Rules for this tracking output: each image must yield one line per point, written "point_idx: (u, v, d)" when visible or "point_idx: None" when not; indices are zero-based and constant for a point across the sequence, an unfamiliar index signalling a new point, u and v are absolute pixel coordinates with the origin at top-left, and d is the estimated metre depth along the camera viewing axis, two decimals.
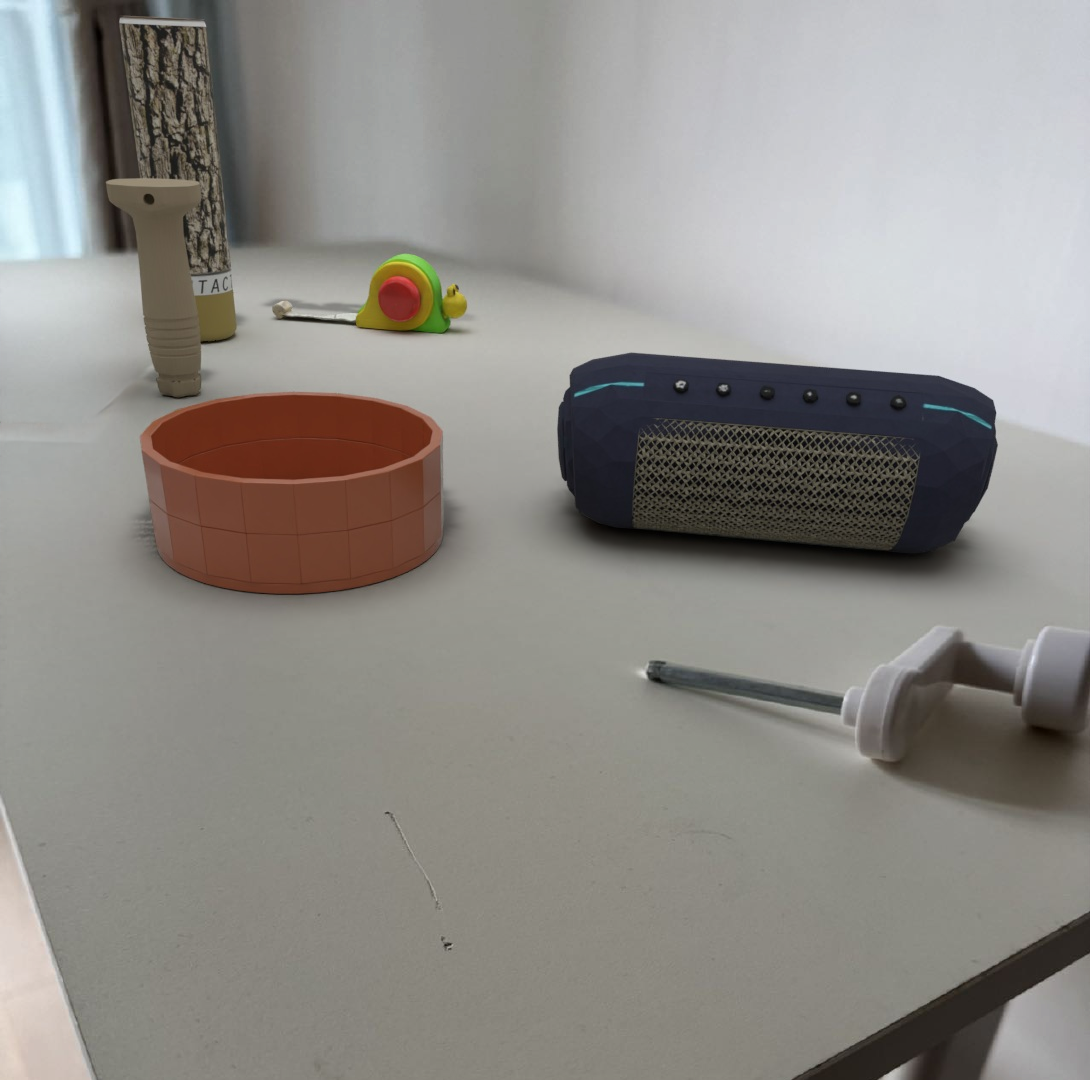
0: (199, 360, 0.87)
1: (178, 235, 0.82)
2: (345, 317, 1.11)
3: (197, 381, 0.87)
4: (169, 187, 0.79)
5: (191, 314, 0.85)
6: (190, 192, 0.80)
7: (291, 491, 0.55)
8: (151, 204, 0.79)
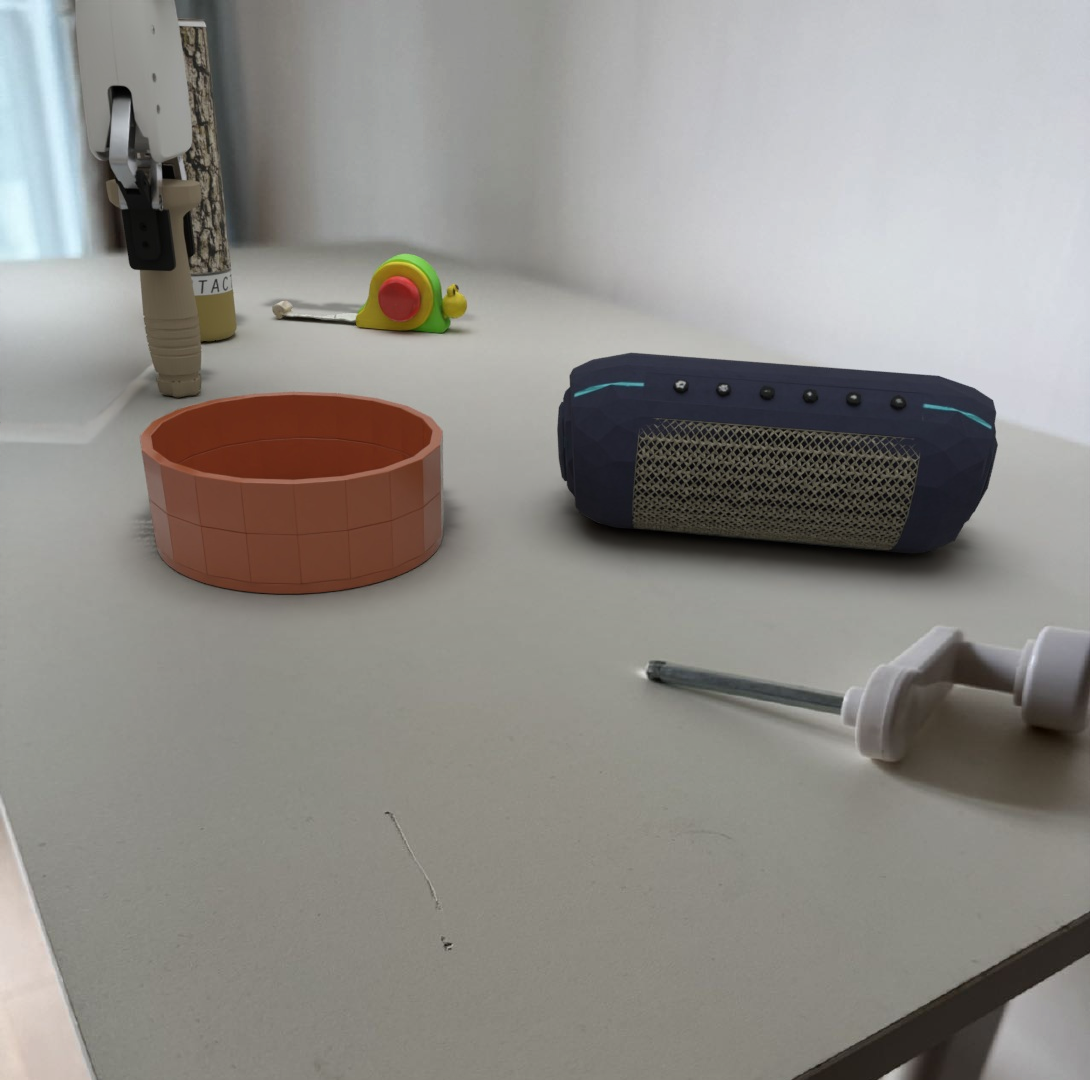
0: (199, 360, 0.87)
1: (178, 235, 0.82)
2: (345, 317, 1.11)
3: (197, 381, 0.87)
4: (169, 187, 0.79)
5: (191, 314, 0.85)
6: (190, 192, 0.80)
7: (291, 491, 0.55)
8: None
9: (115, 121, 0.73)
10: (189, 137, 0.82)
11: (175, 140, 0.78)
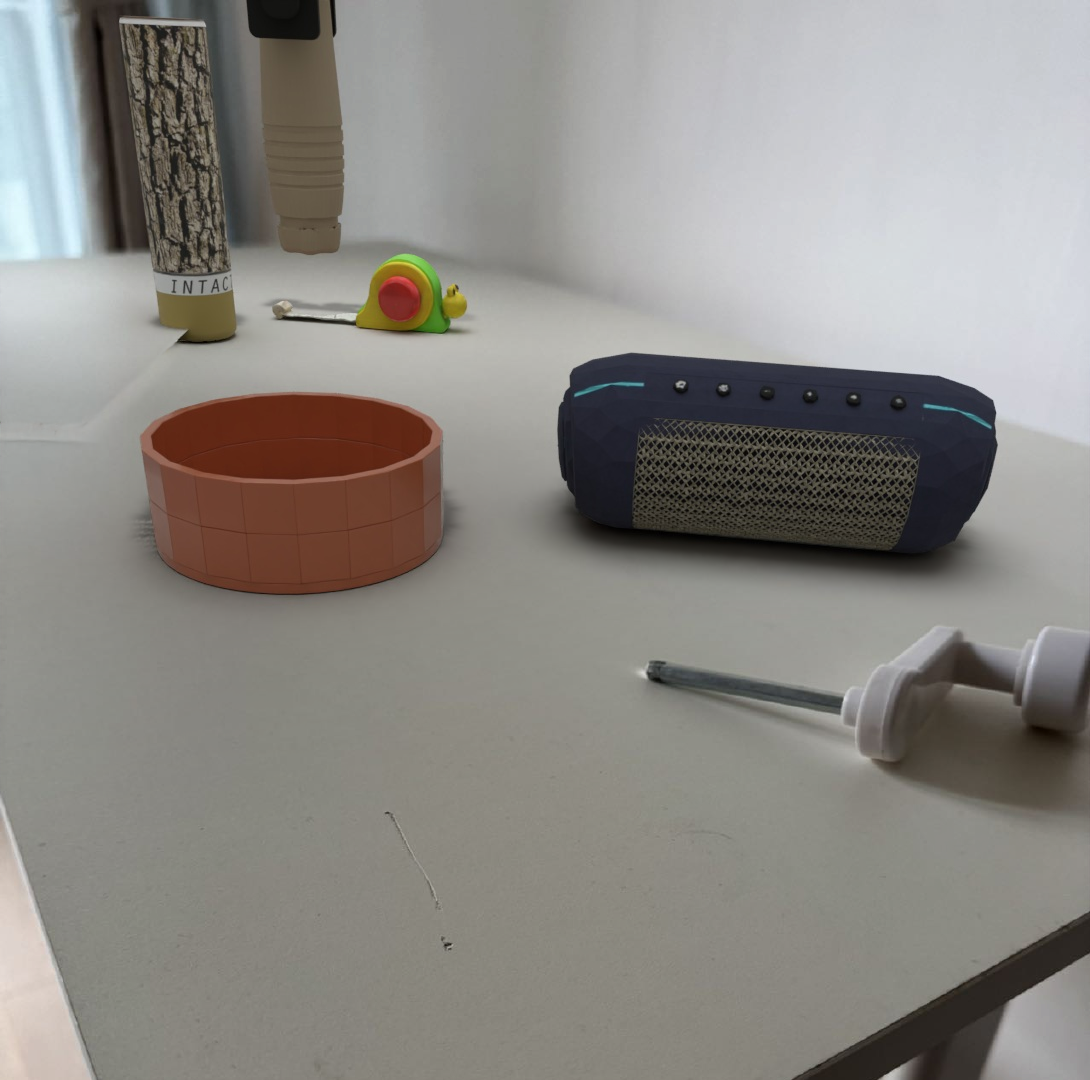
0: (342, 198, 0.58)
1: None
2: (345, 317, 1.11)
3: (338, 231, 0.58)
4: None
5: (335, 122, 0.56)
6: None
7: (291, 491, 0.55)
8: None
9: None
10: None
11: None
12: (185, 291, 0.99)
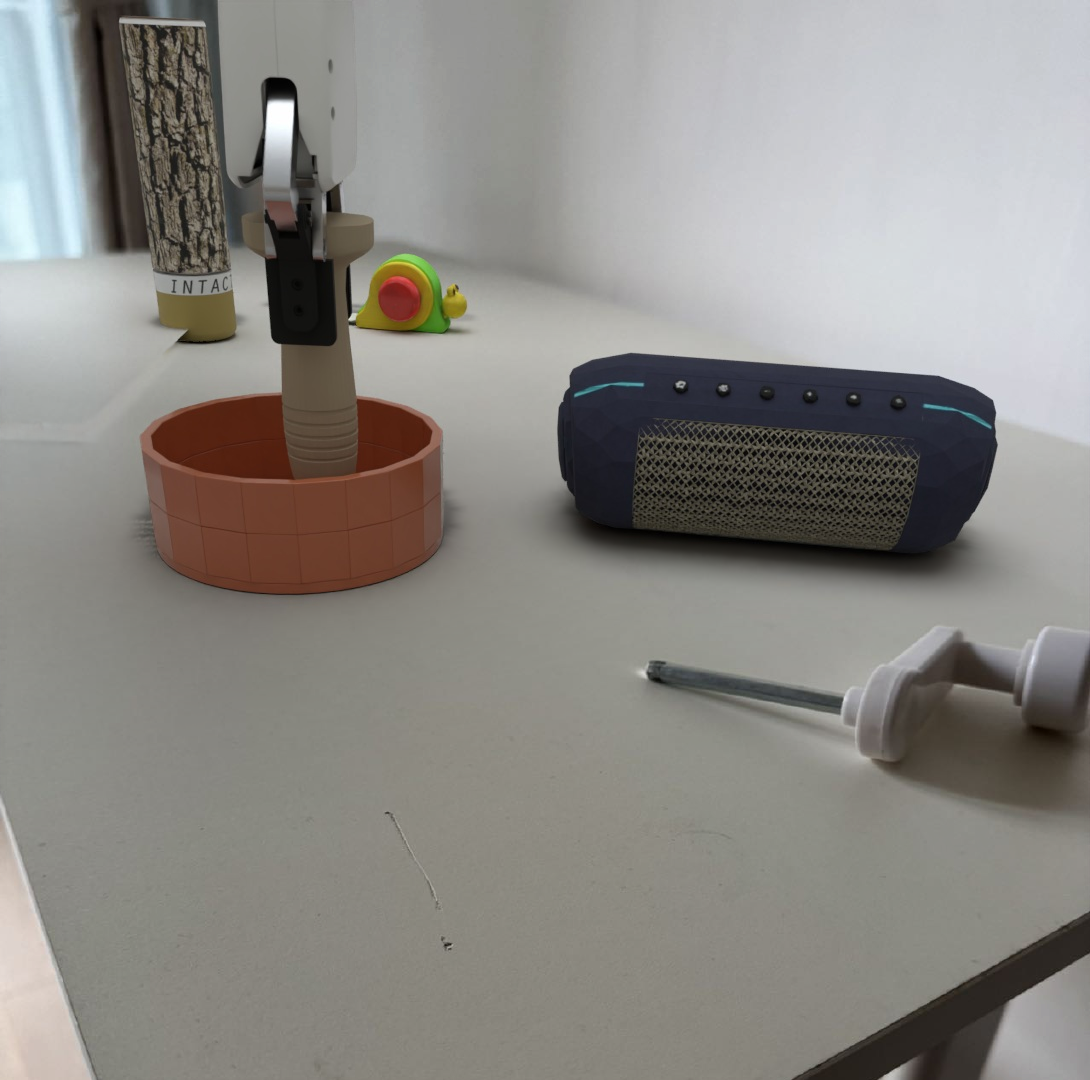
0: (355, 463, 0.62)
1: (340, 294, 0.57)
2: None
3: None
4: (336, 227, 0.54)
5: (350, 403, 0.60)
6: (363, 234, 0.55)
7: (291, 491, 0.55)
8: None
9: (271, 131, 0.49)
10: (355, 153, 0.57)
11: (345, 158, 0.54)
12: (185, 291, 0.99)
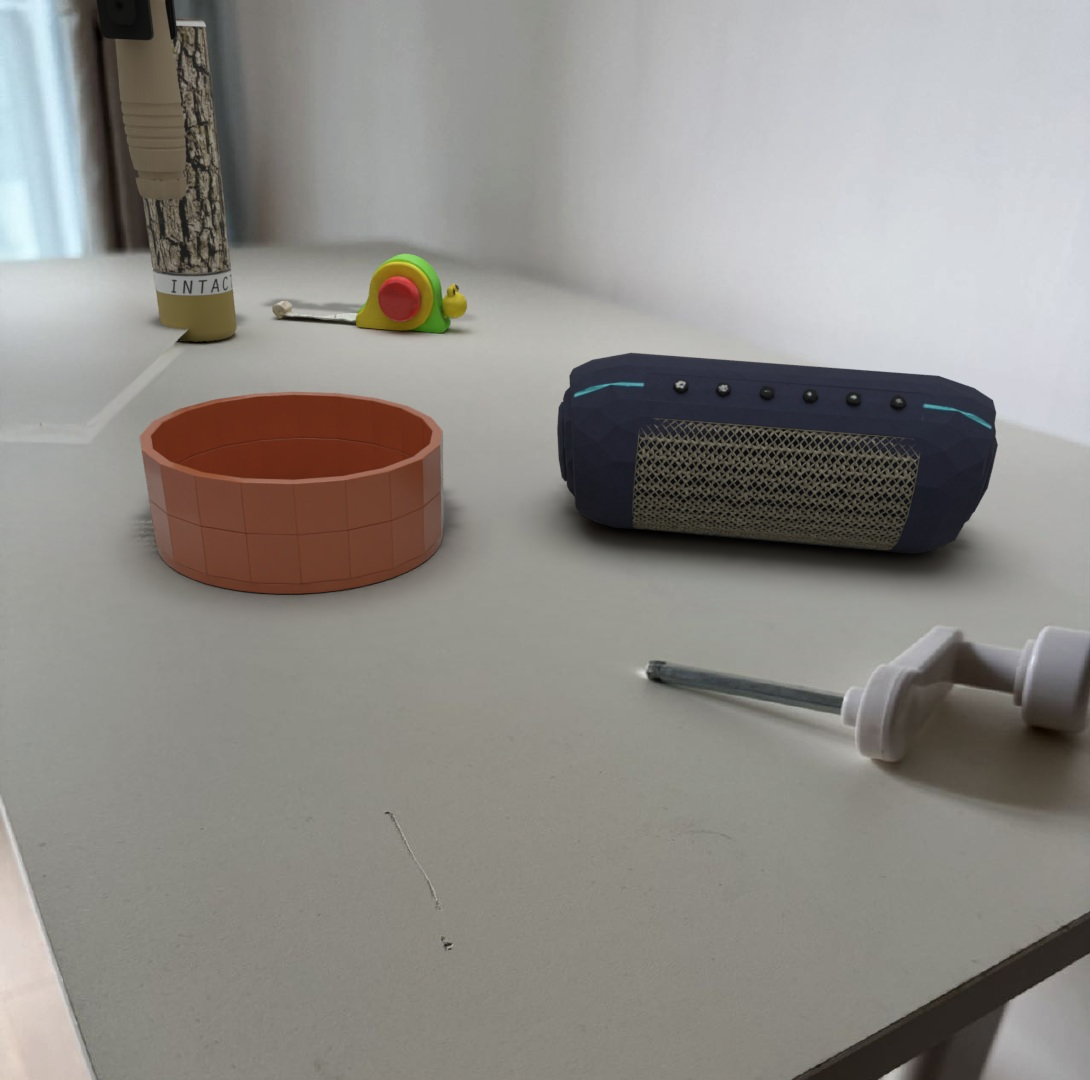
0: (183, 157, 0.78)
1: (158, 3, 0.73)
2: (345, 317, 1.11)
3: (181, 182, 0.79)
4: None
5: (174, 100, 0.76)
6: None
7: (291, 491, 0.55)
8: None
9: None
10: None
11: None
12: (185, 291, 0.99)
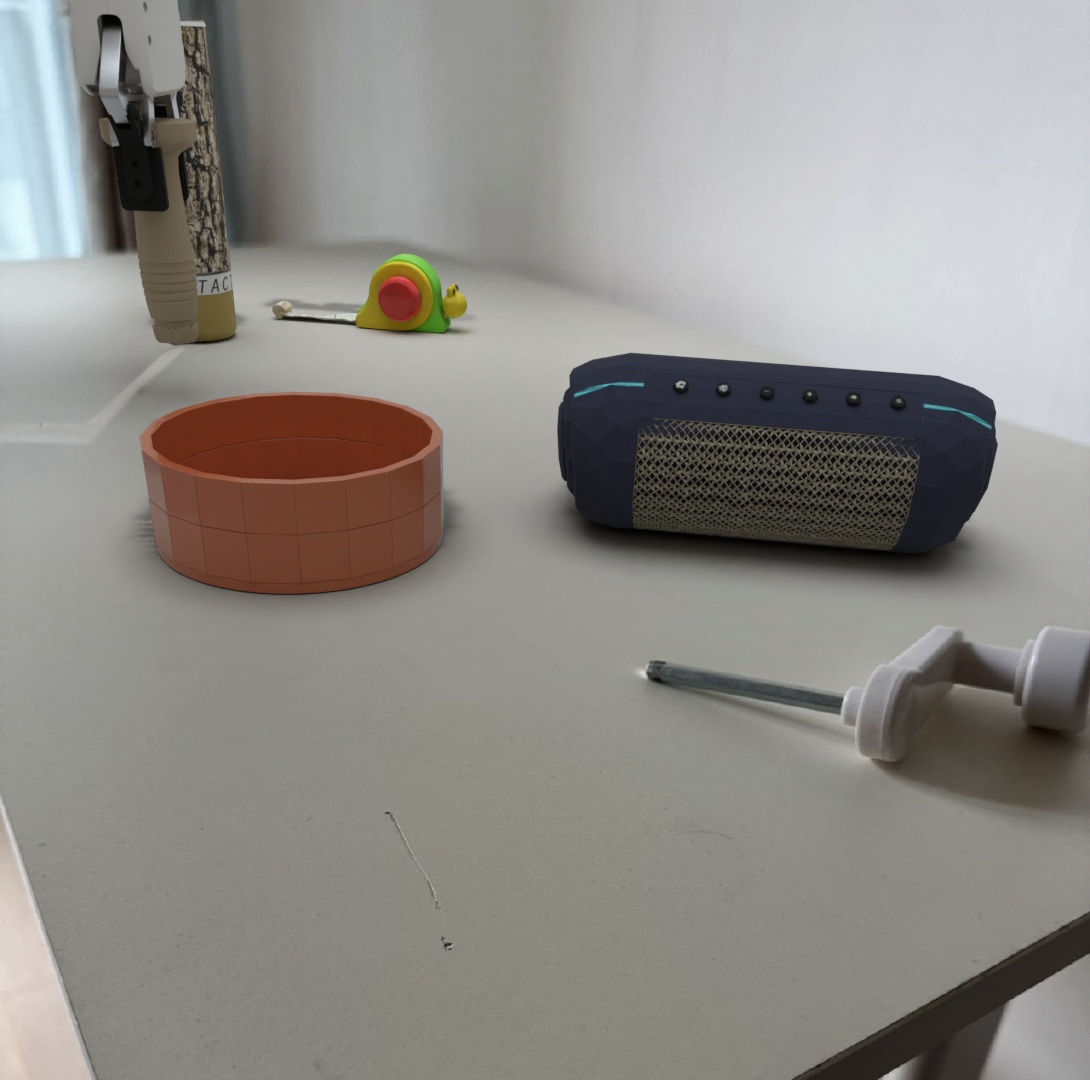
0: (196, 306, 0.85)
1: (173, 175, 0.80)
2: (345, 317, 1.11)
3: (194, 328, 0.85)
4: (163, 124, 0.77)
5: (187, 258, 0.83)
6: (185, 130, 0.78)
7: (291, 491, 0.55)
8: None
9: (105, 51, 0.71)
10: (182, 75, 0.80)
11: (167, 75, 0.76)
12: None
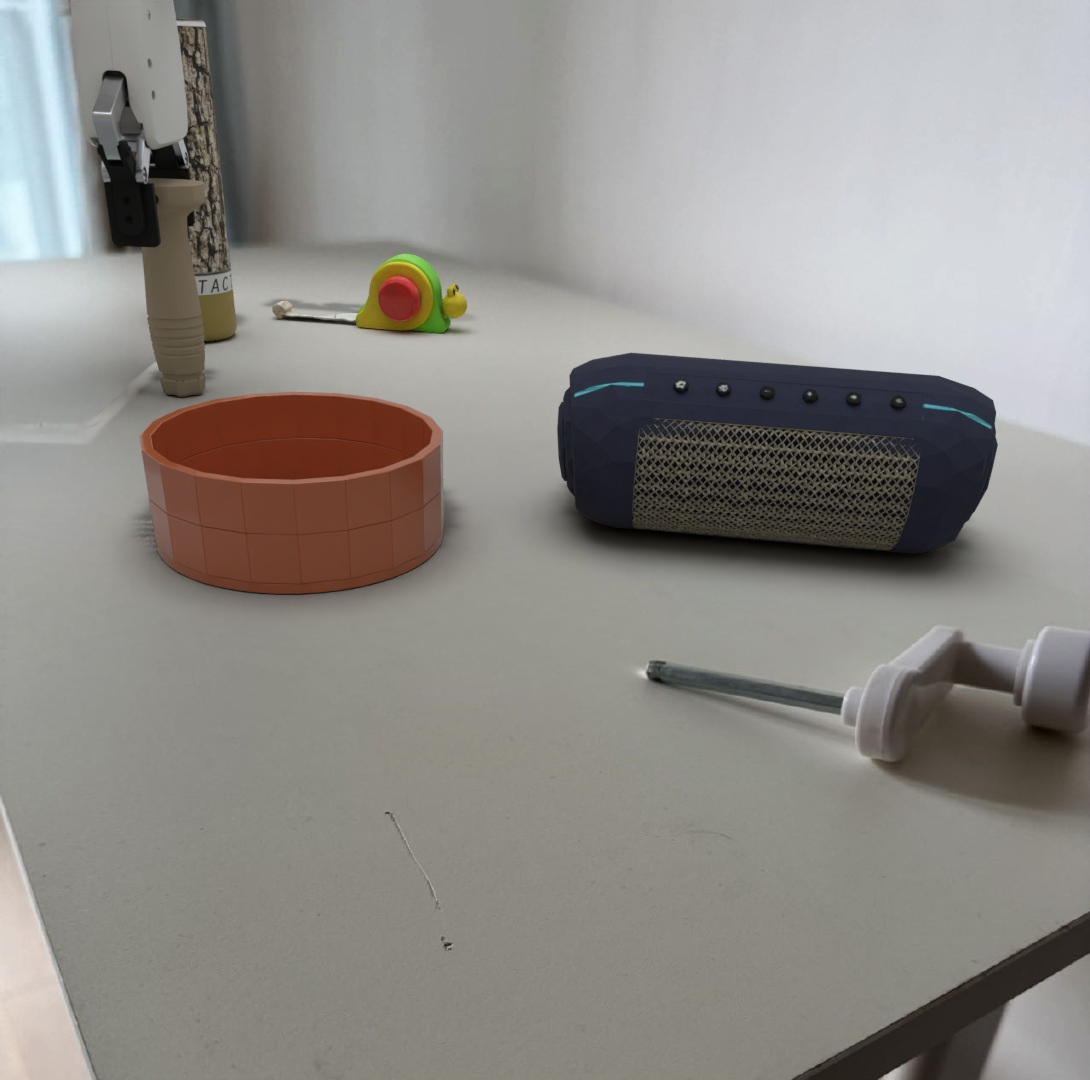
0: (203, 360, 0.87)
1: (182, 235, 0.82)
2: (345, 317, 1.11)
3: (201, 380, 0.88)
4: (173, 187, 0.79)
5: (195, 314, 0.85)
6: (194, 192, 0.80)
7: (291, 491, 0.55)
8: None
9: (104, 88, 0.72)
10: (185, 125, 0.81)
11: (170, 127, 0.78)
12: None
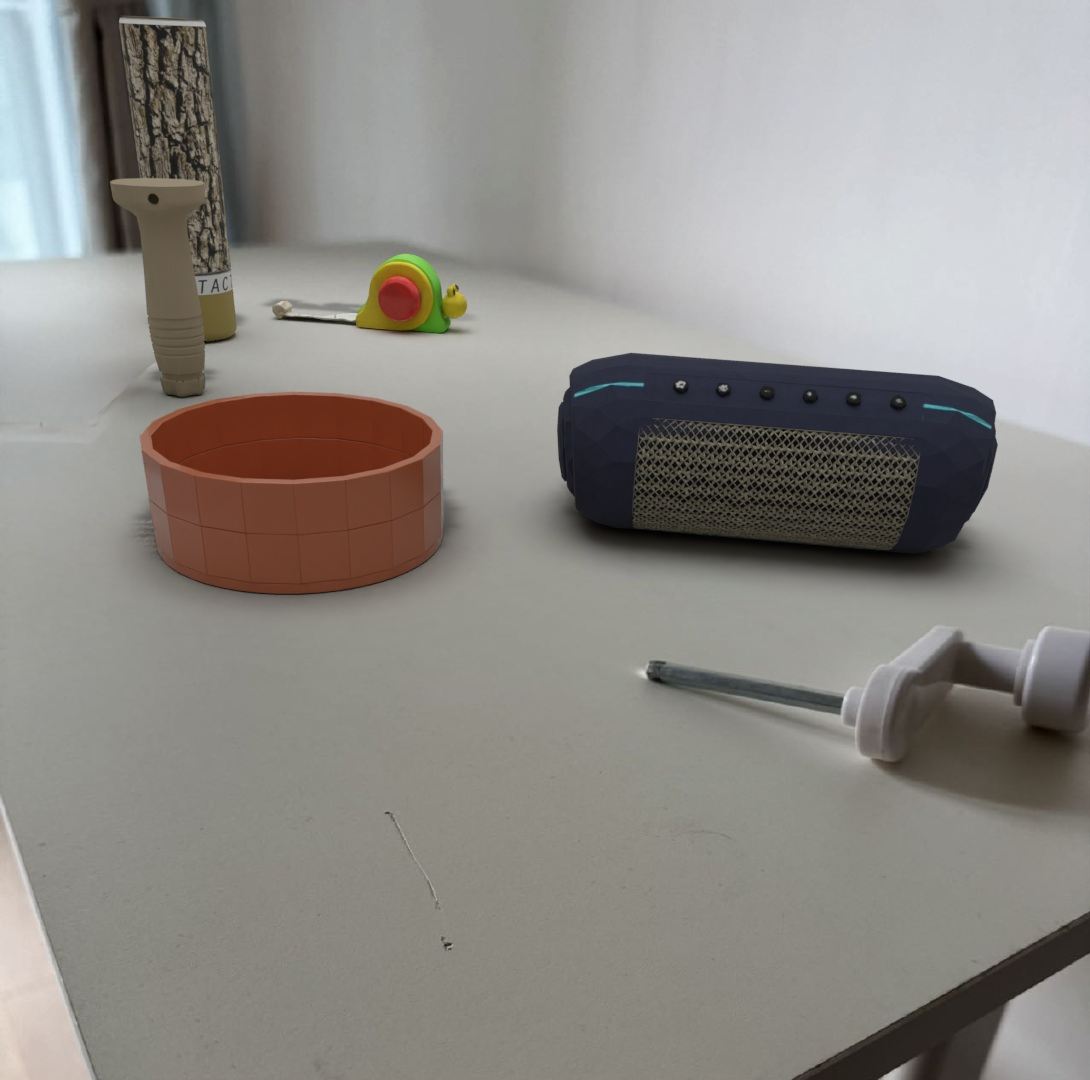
0: (203, 360, 0.87)
1: (182, 235, 0.82)
2: (345, 317, 1.11)
3: (201, 380, 0.88)
4: (173, 187, 0.79)
5: (195, 314, 0.85)
6: (194, 192, 0.80)
7: (291, 491, 0.55)
8: (156, 204, 0.80)
9: None
10: None
11: None
12: None
